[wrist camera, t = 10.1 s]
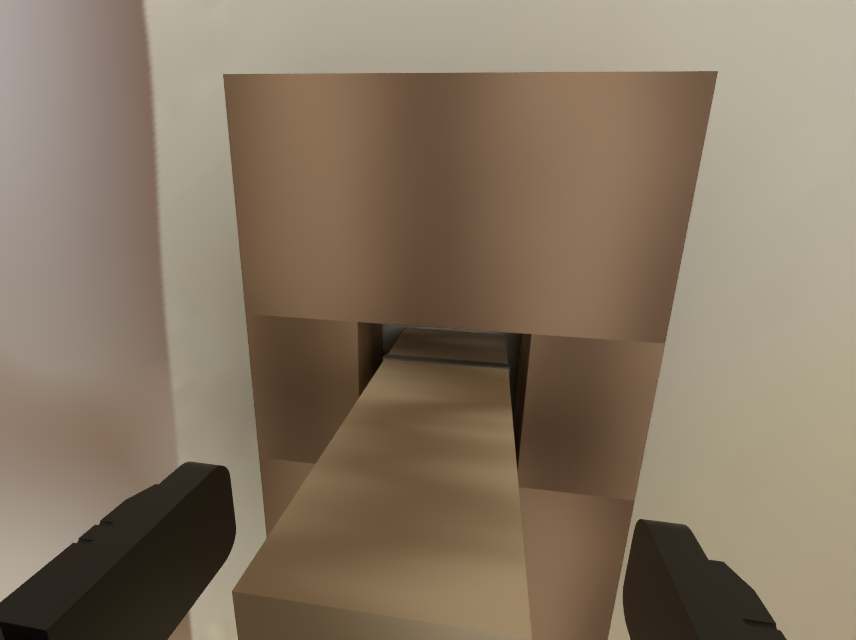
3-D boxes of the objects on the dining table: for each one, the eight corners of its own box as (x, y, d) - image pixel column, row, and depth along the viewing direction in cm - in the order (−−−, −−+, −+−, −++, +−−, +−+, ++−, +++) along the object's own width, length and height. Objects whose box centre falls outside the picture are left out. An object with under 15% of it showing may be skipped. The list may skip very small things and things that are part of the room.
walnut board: (666, 99, 13) (717, 71, 10) (585, 584, 18) (603, 659, 15) (277, 98, 14) (223, 74, 11) (306, 545, 19) (273, 606, 16)
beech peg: (506, 333, 15) (537, 636, 5) (499, 427, 16) (510, 841, 6) (403, 326, 16) (227, 588, 5) (402, 418, 17) (254, 785, 6)
